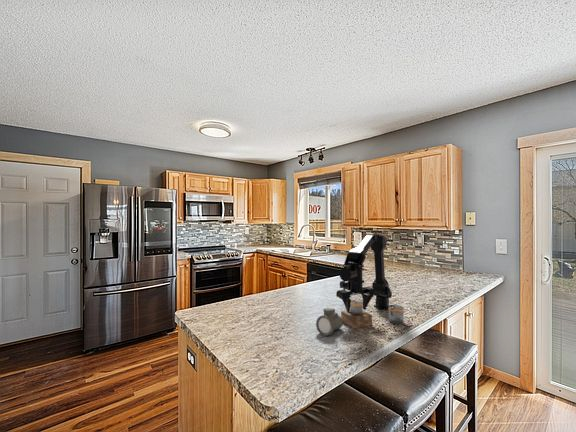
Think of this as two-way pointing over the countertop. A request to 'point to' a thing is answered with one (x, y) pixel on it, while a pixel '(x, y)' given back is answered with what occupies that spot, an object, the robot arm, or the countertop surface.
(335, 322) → the pipe fitting
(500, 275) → the countertop surface
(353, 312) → the square bit
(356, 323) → the block
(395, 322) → the cylinder
